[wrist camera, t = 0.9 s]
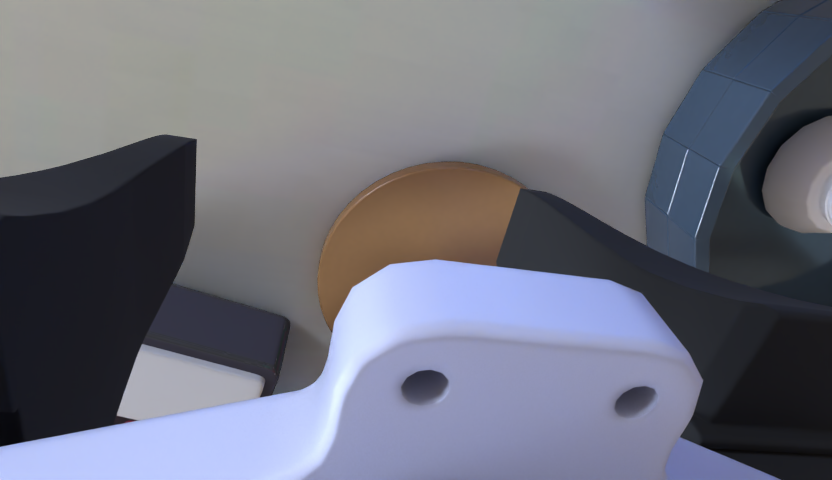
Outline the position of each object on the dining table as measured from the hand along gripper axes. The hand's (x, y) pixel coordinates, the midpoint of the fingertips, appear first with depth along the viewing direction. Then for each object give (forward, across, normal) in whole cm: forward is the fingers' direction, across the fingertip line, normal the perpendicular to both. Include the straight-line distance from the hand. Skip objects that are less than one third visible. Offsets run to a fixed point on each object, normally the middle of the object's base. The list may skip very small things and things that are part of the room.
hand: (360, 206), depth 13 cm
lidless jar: (+9, -20, 0) cm, 22 cm away
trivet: (+9, -5, +8) cm, 13 cm away
